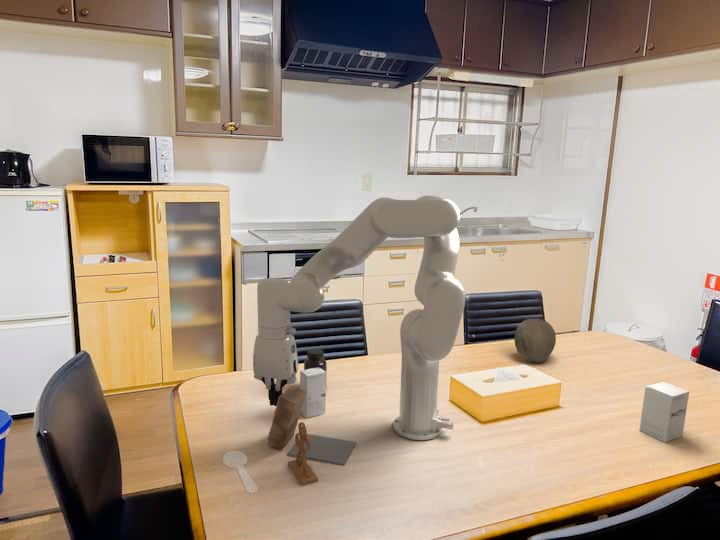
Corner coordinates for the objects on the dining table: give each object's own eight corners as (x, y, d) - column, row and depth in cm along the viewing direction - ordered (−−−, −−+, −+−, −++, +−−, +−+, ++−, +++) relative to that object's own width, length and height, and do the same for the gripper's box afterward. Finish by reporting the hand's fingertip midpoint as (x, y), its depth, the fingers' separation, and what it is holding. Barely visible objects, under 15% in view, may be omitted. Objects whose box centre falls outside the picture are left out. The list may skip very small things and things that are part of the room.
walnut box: (293, 436, 131) (306, 391, 128) (281, 450, 124) (295, 403, 121) (278, 429, 132) (290, 384, 129) (266, 443, 125) (278, 396, 122)
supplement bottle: (299, 390, 157) (299, 353, 155) (310, 382, 164) (310, 346, 161) (320, 395, 155) (320, 356, 153) (330, 386, 161) (330, 349, 159)
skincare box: (306, 418, 140) (306, 376, 138) (299, 412, 144) (298, 370, 142) (326, 413, 144) (326, 371, 141) (318, 406, 147) (318, 366, 145)
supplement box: (665, 443, 131) (672, 396, 129) (638, 430, 138) (644, 385, 135) (683, 437, 134) (690, 391, 132) (656, 424, 141) (662, 380, 138)
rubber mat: (356, 443, 128) (356, 441, 128) (344, 465, 119) (344, 463, 119) (303, 434, 132) (303, 433, 132) (287, 455, 123) (287, 453, 122)
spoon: (241, 497, 107) (241, 495, 107) (219, 455, 122) (219, 453, 122) (266, 490, 110) (266, 488, 109) (241, 449, 125) (241, 447, 125)
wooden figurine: (287, 465, 119) (287, 416, 116) (303, 461, 120) (303, 412, 118) (301, 486, 111) (301, 434, 108) (318, 481, 113) (318, 430, 110)
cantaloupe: (560, 368, 179) (564, 326, 177) (518, 367, 180) (522, 325, 177) (546, 353, 193) (549, 314, 190) (507, 352, 193) (511, 313, 191)
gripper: (309, 329, 125) (310, 401, 128) (253, 323, 129) (255, 393, 132) (297, 339, 118) (298, 414, 121) (237, 332, 122) (240, 406, 125)
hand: (275, 403), depth 127 cm, fingers closed
